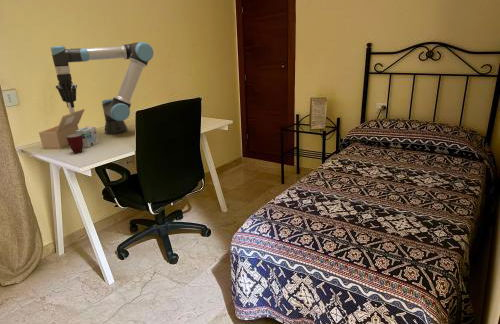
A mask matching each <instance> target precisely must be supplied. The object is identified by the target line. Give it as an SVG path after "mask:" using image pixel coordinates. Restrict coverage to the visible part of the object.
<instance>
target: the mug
mask: <svg viewBox="0 0 500 324" xmlns="http://www.w3.org/2000/svg"><path fill="white" fill-rule="evenodd" d="M67 141H68V144H69V148H70V149H71V151H72V152H73V153H74V154H79V153H81V152H82V151H83V138H82V134H71V135H68V136H67Z"/></svg>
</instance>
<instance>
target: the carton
mask: <svg viewBox="0 0 500 324" xmlns="http://www.w3.org/2000/svg"><path fill="white" fill-rule="evenodd" d="M58 126H59V125H56V126H53V127H51V128H48V129H45V130H42V131H40V132H38V134H39V139H40V142H41V145H42V148H43V149H62V148H64V147H67V146H68V145H69V144H68V141H67V136H68V135H71V134H76V130H79V124H78V125H75V126H73V127H70V128H67V129H65V130H62V131H60V132H56V131H57V129H58Z"/></svg>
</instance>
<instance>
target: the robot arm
mask: <svg viewBox="0 0 500 324" xmlns="http://www.w3.org/2000/svg"><path fill="white" fill-rule="evenodd" d="M50 51H51V56H52V61H53V65H54V70H55V73H56V78H57V81H58V84H57V85H55V88H56V90H57V91H58V93H59V95H60V97H61V99H62V100H61V101H63V102H64V103H66V107H67V108H68V112H69V114H70V113H73V112H76V110H75V103H74V102H76V101H77V87H78V85H77V84H74V83H73V81H72V74H71V69H70V65H69V63H81V62H82V63H84V62H89V61H98V60H114V59H124V60H129V61H130V63H129V64H128V68H127V69H126V72H125V75H124V77H123V79H122V81H121V82H122V83H121V85H120V86H119V90H118V92H117V95H115V96H113V98H110V99H103V100H102V101H101V103H102V104H101V106H102V109H103V115H104V120H105V125H104V134H105V135H118V134H123V133H126V132H128V127H127V124H126V122H125V121H126V120H127V119H129V117H130V114H131V111H130V110H131V105H132V103H131V100H132V97H133V94H134V92H135V89H136V87H137V84H138V82H139V80H140V77H141V75H142V72H143V70H144V68H146V67H147V66H148V63H149V61H151V60H152V59H153V57H154V49H153V47H152V46H151V44H149V43H147V42H144V41H139V42H132V43H128V44H127V43H126V44H122V45H121V46H119V45H118V46H101V47H100V46H99V47H83V48H69V49H68V48H66V47H65V46H64V45H58V46H57V45H53V46H51V47H50Z"/></svg>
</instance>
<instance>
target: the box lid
mask: <svg viewBox="0 0 500 324" xmlns="http://www.w3.org/2000/svg"><path fill="white" fill-rule="evenodd" d="M85 110H86V109H85V108H83V109H80V110H75V112H73V113H70V112H69V113H67V114H65V115H62V116H61V119H60V122H59V126H58V125H57V126H58V129H57V131H56V132H60V131H62V130H65V129H67V128H70V127H73V126H75V125H78V126H79V123H80V121H81V119H82V117H83V114H84V112H85Z"/></svg>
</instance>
